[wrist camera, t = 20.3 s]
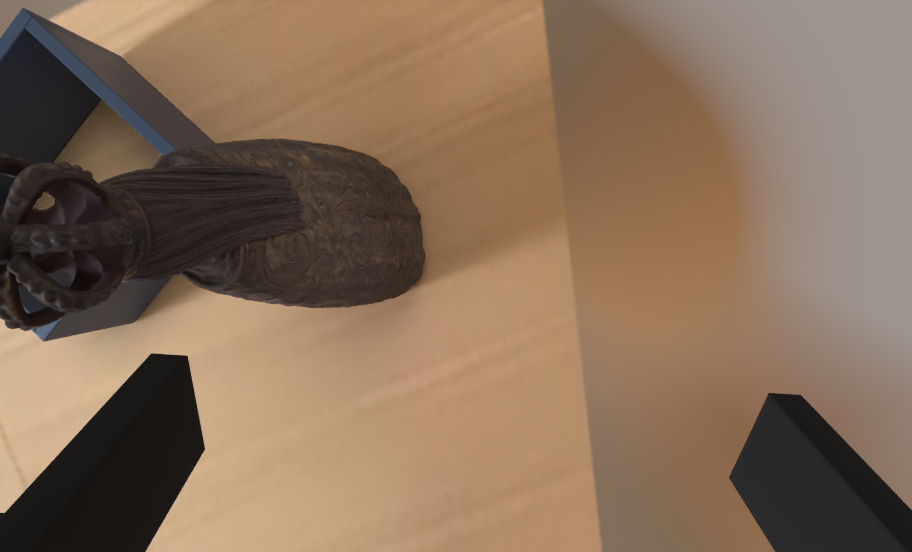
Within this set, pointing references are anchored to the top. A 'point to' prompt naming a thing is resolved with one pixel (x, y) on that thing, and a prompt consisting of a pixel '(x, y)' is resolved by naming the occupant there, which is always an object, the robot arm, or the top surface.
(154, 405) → the robot arm
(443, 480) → the top surface
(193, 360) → the top surface
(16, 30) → the bin
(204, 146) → the statue
